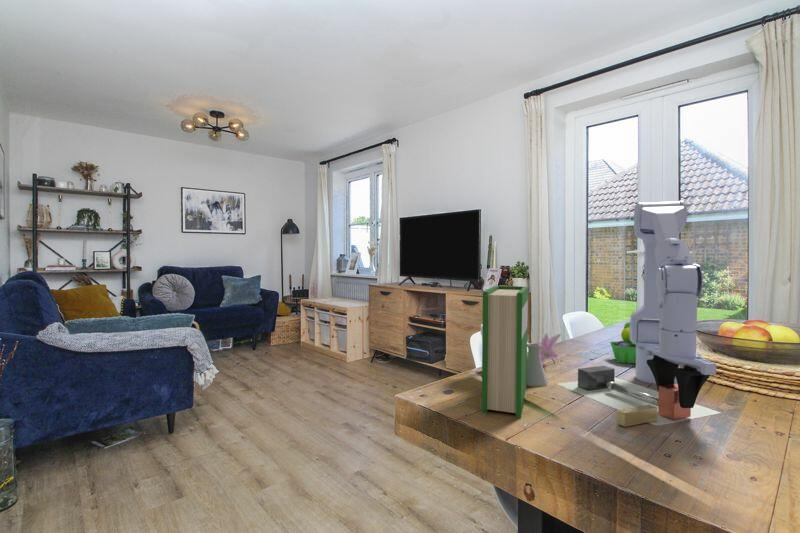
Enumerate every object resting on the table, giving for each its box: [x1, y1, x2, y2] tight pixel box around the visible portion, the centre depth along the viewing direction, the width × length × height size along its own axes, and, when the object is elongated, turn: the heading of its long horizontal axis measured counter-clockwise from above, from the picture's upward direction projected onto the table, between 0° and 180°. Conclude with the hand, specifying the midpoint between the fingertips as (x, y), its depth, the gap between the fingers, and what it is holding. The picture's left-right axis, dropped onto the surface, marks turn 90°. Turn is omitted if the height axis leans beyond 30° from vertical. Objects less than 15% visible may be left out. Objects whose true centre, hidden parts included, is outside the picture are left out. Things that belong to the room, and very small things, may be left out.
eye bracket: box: [577, 365, 616, 391], centre depth 92 cm, size 8×3×4 cm, turn 110°
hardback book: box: [481, 285, 529, 419], centre depth 86 cm, size 18×7×24 cm, turn 159°
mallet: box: [607, 381, 691, 420], centre depth 82 cm, size 4×16×5 cm, turn 20°
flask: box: [527, 342, 549, 387], centre depth 96 cm, size 7×7×10 cm
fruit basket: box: [609, 321, 636, 364], centre depth 119 cm, size 11×9×11 cm
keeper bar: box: [616, 405, 658, 428], centre depth 72 cm, size 8×2×2 cm, turn 110°
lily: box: [534, 332, 561, 366], centre depth 112 cm, size 12×12×10 cm
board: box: [556, 376, 722, 427], centre depth 86 cm, size 18×25×1 cm
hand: (676, 402), depth 75 cm, fingers open, 4 cm apart
